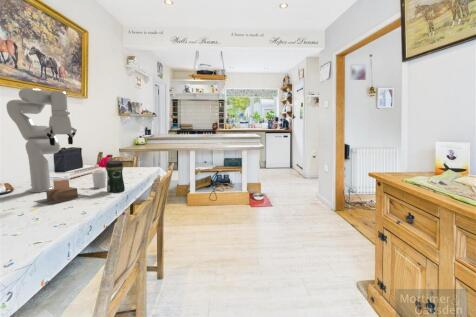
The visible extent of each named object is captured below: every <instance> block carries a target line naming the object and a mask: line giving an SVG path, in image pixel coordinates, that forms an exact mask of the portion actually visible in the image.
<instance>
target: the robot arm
mask: <svg viewBox="0 0 476 317" xmlns="http://www.w3.org/2000/svg"><path fill="white" fill-rule="evenodd" d="M18 96H19V98H20V99H11V100H9V101H7V103H6V106H5V108H6V112H7V114H8V116H9V117H10V119H11V120H12V121H13V123H14V124H15V125H16V126H17V128H18V131H19V132H20V134H21V136H22V138H23V139H24V140H25V141H26V142H25V150H26V154H27V158H28V164H29V166H28V167H29V175H30V188H29V189H28V192H29V193H42V192H46V190H50V189H54V186H51V178H50V168H49V167H50V166H49V160H48V159H47V158H46V157H45V156H44V155H52V154H57V153H59V151H60V149H61V145H60V142H59V141H58V139H57V137H56V135H67V143H68V145H74V144H73V143H74V136H76V133H77V131H78V129H76V128H74V127H72V123H71V119H70V116H69V115H70V112H69V111H68V95H67V93H66V91H62V90H45V89H41V88H33V87H24V88H22V89H20V90H19V91H18ZM46 105H47V106H48V105H50V106H51V107H50V110H51V115H50V116H49V121H48V126H47V125H37V124H35V123H34V121H33V119H31V118H30V117H29V115H39V114H40V113H42V111H43V109H44V108H45V106H46ZM27 114H28V115H27Z"/></svg>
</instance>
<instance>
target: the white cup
mask: <svg viewBox="0 0 476 317" xmlns="http://www.w3.org/2000/svg"><path fill="white" fill-rule="evenodd" d="M91 175H92V181H93V182H92V183H93V187H94V188H95V189H101V188H105V187H107V180H106V179H107V171H106V170H97V171H96V170H95V171H92V172H91Z"/></svg>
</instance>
